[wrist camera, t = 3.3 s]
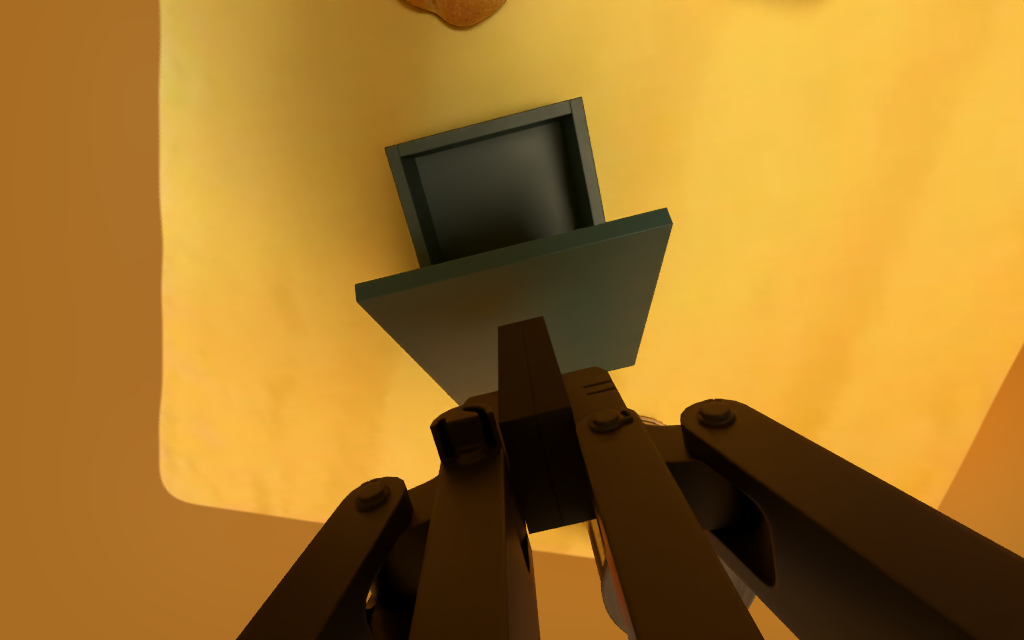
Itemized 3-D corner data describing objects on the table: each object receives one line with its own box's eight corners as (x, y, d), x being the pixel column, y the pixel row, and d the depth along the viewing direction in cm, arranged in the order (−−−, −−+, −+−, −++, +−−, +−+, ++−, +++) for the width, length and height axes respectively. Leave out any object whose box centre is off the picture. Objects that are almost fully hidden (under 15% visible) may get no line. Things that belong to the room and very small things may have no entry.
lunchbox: (402, 149, 39) (384, 147, 33) (567, 107, 39) (581, 96, 32) (464, 363, 44) (459, 398, 38) (611, 328, 44) (631, 357, 37)
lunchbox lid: (354, 283, 21) (355, 301, 21) (666, 206, 20) (673, 223, 20) (457, 395, 37) (459, 406, 37) (631, 354, 37) (634, 365, 37)
